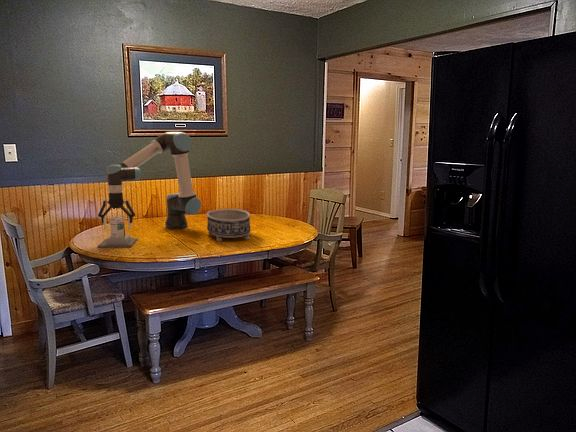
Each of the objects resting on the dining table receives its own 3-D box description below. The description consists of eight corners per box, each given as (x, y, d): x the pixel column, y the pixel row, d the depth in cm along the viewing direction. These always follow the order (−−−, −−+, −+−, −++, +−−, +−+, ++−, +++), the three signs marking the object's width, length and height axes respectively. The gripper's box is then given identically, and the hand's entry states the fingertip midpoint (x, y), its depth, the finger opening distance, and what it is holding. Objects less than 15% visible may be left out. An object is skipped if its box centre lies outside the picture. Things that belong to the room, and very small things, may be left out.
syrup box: (117, 243, 254) (116, 218, 251) (110, 241, 257) (109, 217, 254) (125, 241, 259) (124, 216, 256) (119, 240, 262) (117, 215, 259)
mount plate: (137, 239, 268) (137, 233, 267) (130, 247, 250) (130, 240, 249) (106, 240, 266) (106, 233, 265) (97, 247, 248) (97, 240, 247)
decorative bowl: (259, 242, 267) (259, 218, 264) (215, 246, 257) (214, 220, 254) (239, 228, 305) (239, 206, 303) (201, 230, 296) (200, 208, 293)
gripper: (90, 193, 247) (93, 230, 251) (136, 193, 250) (138, 229, 254) (94, 191, 255) (97, 227, 259) (139, 191, 257) (141, 227, 261)
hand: (117, 228), depth 256 cm, fingers open, 13 cm apart
